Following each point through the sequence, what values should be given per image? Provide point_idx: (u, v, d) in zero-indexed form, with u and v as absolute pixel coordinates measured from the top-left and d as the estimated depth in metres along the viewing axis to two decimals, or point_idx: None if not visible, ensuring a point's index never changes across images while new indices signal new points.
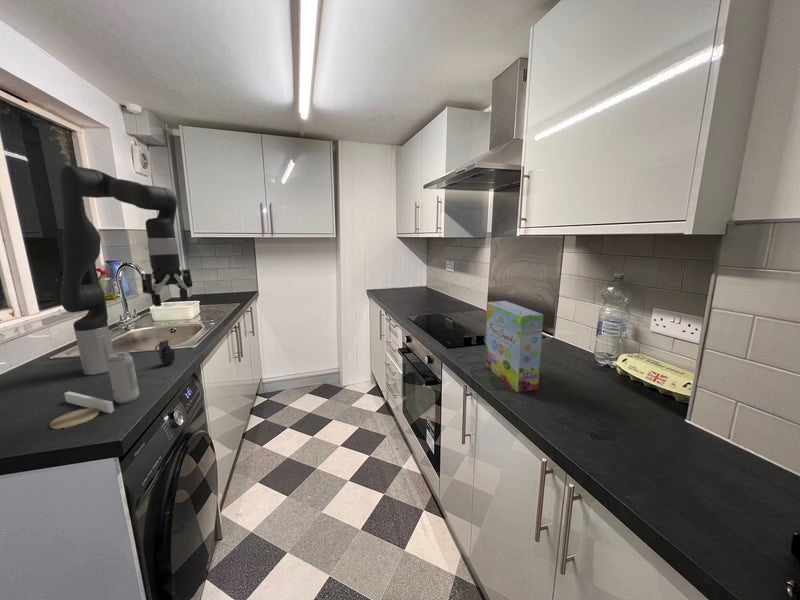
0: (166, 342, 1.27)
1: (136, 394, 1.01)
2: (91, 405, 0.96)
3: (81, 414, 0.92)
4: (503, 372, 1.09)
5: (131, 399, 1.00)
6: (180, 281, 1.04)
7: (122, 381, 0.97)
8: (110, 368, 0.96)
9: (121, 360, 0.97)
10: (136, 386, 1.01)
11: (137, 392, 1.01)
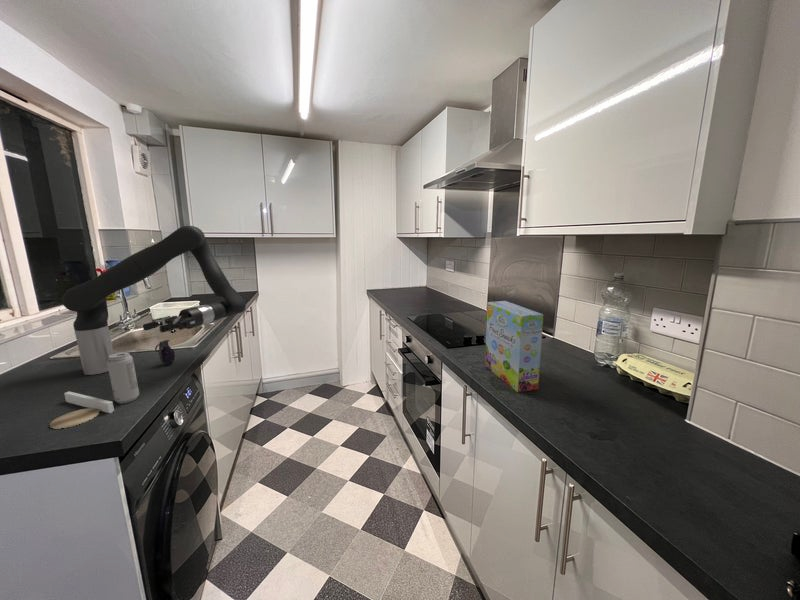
0: (166, 342, 1.27)
1: (136, 394, 1.01)
2: (91, 405, 0.96)
3: (81, 414, 0.92)
4: (503, 372, 1.09)
5: (131, 399, 1.00)
6: None
7: (122, 381, 0.97)
8: (110, 368, 0.96)
9: (121, 360, 0.97)
10: (136, 386, 1.01)
11: (137, 392, 1.01)
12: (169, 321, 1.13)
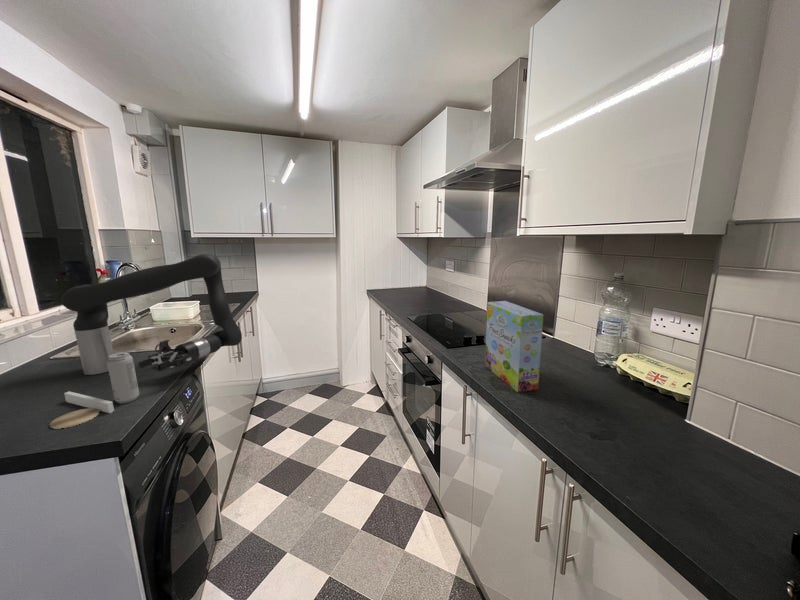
0: (166, 342, 1.27)
1: (136, 394, 1.01)
2: (91, 405, 0.96)
3: (81, 414, 0.92)
4: (503, 372, 1.09)
5: (131, 399, 1.00)
6: None
7: (122, 381, 0.97)
8: (110, 368, 0.96)
9: (121, 360, 0.97)
10: (136, 386, 1.01)
11: (137, 392, 1.01)
12: (165, 358, 1.12)
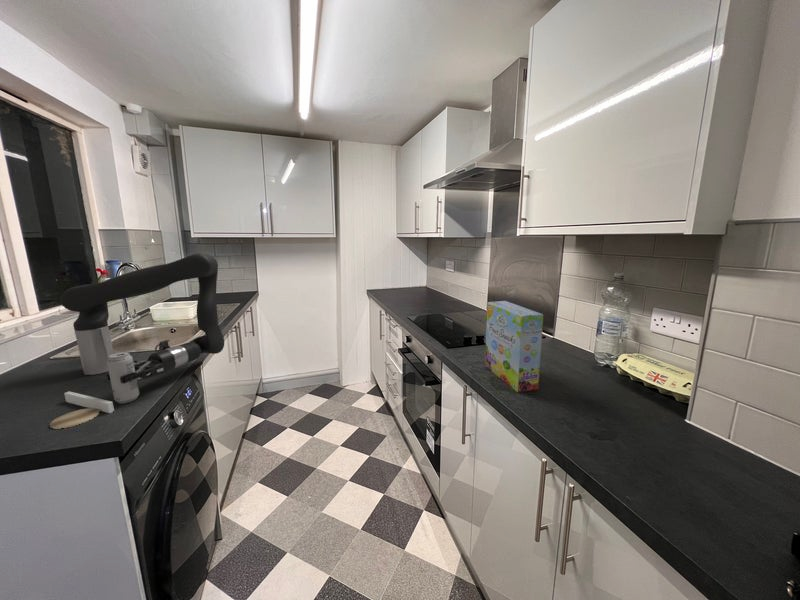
0: (166, 342, 1.27)
1: (136, 394, 1.01)
2: (91, 405, 0.96)
3: (81, 414, 0.92)
4: (503, 372, 1.09)
5: (131, 399, 1.00)
6: None
7: None
8: (110, 368, 0.96)
9: (121, 360, 0.97)
10: (136, 386, 1.01)
11: (137, 392, 1.01)
12: (138, 368, 1.04)
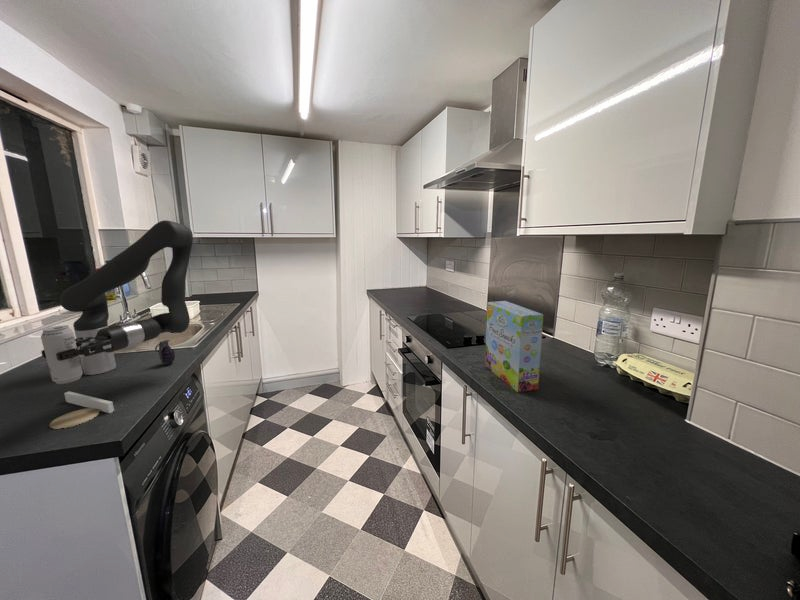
0: (166, 342, 1.27)
1: (78, 374, 0.88)
2: (91, 405, 0.96)
3: (81, 414, 0.92)
4: (503, 372, 1.09)
5: (72, 379, 0.87)
6: None
7: None
8: (44, 343, 0.83)
9: (58, 334, 0.84)
10: (78, 364, 0.88)
11: (79, 371, 0.89)
12: (82, 344, 0.91)
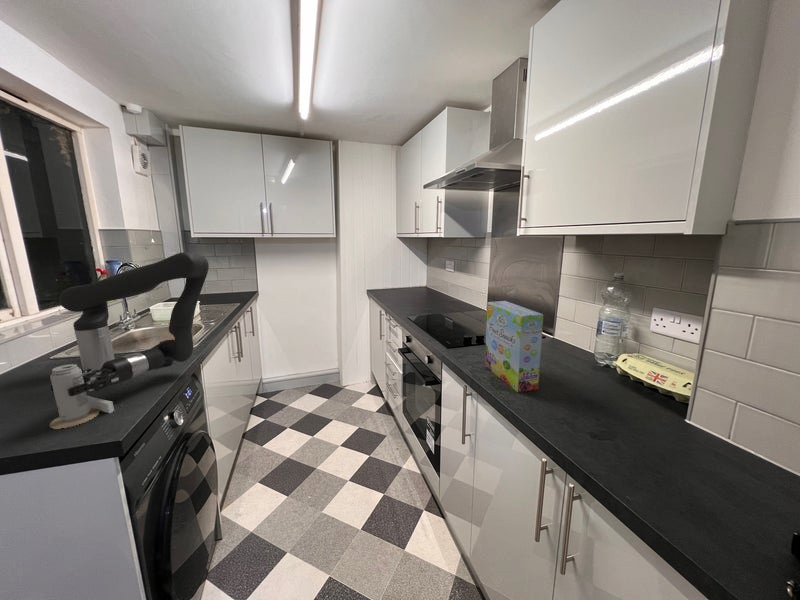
0: None
1: (85, 411, 0.90)
2: (91, 405, 0.96)
3: None
4: (503, 372, 1.09)
5: (79, 417, 0.89)
6: None
7: (68, 397, 0.87)
8: (53, 382, 0.85)
9: (66, 374, 0.86)
10: (85, 402, 0.91)
11: (87, 409, 0.91)
12: (86, 378, 0.93)
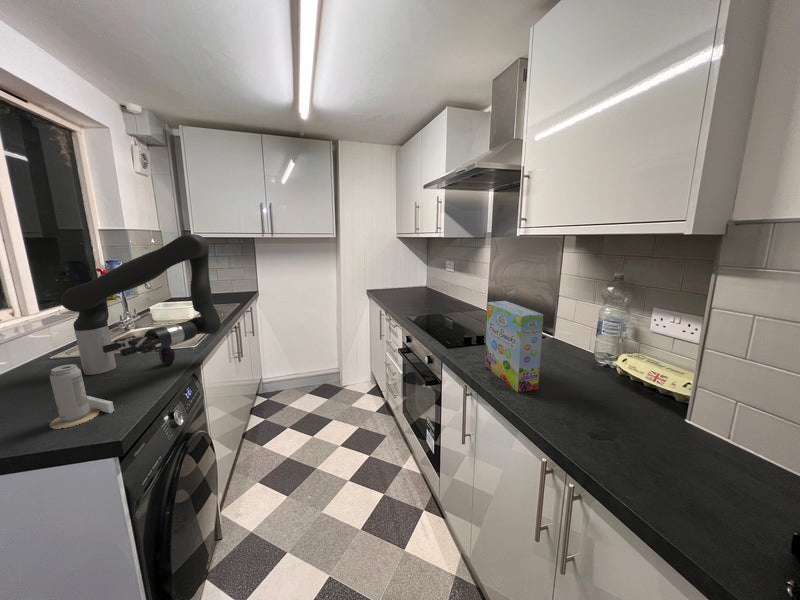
0: None
1: (85, 411, 0.90)
2: (91, 405, 0.96)
3: None
4: (503, 372, 1.09)
5: (79, 417, 0.89)
6: None
7: (67, 397, 0.87)
8: (53, 383, 0.85)
9: (66, 374, 0.86)
10: (85, 402, 0.91)
11: (86, 409, 0.91)
12: (133, 343, 1.05)
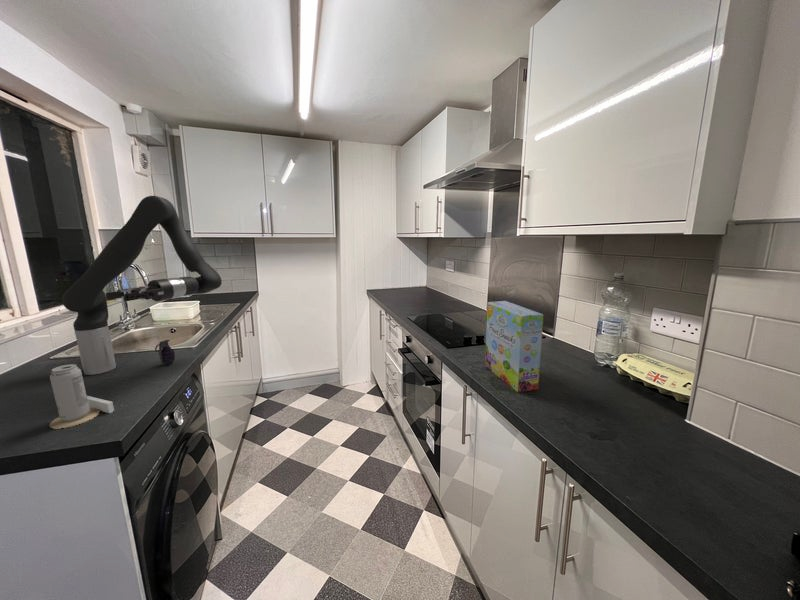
0: (166, 342, 1.27)
1: (85, 411, 0.90)
2: (91, 405, 0.96)
3: None
4: (503, 372, 1.09)
5: (79, 417, 0.89)
6: None
7: (67, 397, 0.87)
8: (53, 383, 0.85)
9: (66, 374, 0.86)
10: (85, 402, 0.91)
11: (86, 409, 0.91)
12: (135, 291, 1.06)
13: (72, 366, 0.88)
